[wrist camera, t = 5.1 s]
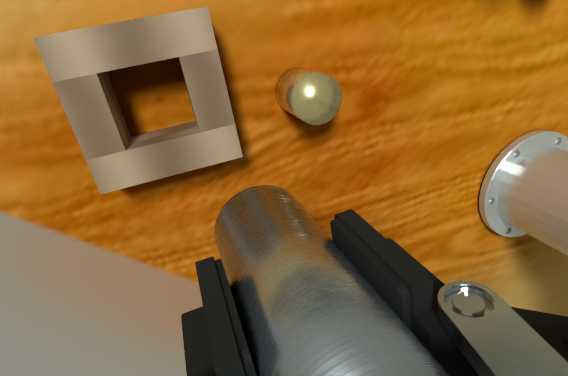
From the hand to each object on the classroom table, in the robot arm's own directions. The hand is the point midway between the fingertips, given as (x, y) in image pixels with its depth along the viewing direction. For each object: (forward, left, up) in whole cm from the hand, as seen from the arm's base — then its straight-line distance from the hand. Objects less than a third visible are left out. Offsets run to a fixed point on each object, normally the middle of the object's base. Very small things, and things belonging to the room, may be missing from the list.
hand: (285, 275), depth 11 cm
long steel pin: (0, 0, -3) cm, 3 cm away
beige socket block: (+4, -4, -20) cm, 21 cm away
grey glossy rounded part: (-7, -2, -20) cm, 22 cm away
